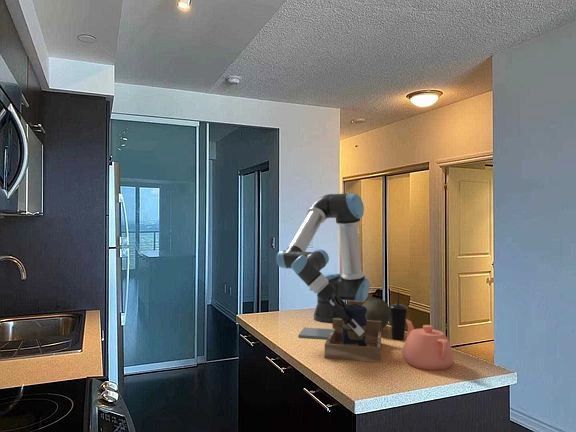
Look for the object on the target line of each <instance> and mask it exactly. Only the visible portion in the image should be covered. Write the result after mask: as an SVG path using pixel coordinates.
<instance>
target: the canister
mask: <svg viewBox="0 0 576 432" xmlns="http://www.w3.org/2000/svg"><path fill="white" fill-rule="evenodd" d="M343 308H344V309H345V311H346V312H347V313H348V315H349V316H350V317H351V318H353V319H354V320H355V322H356V323H357V324H358V325H359V326H360V327H361V328H362V329H363V330H364V331H365V332H364V333H363V334H362V335H361V336H358V334H357V333H356V332H355V331H354V330H353V329H352V328H351V327H350V326H349V325H348V324H346V325H345V324H344V321H343V341H342V345H354V346H368V343H367V308H366V307H364V306H362V305H361V304H359V303H352V304H347V305H346V306H344V307H343Z"/></svg>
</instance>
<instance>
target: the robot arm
mask: <svg viewBox="0 0 576 432" xmlns="http://www.w3.org/2000/svg"><path fill="white" fill-rule="evenodd" d="M364 211H365V207H364V203H363V199H362V197H360V195H359V194H356V193H329V194H325V195H323V196H321V197H319V198H318V199H316V200H315V201H314V202H313V203H312V204H311V205H310V207H309V208H308V210H307V213H306V215H307V216H306V217H305V218H304V221H303V222H302V223H301V225H300V228H299V229H298V230H297V232H296V234H295V235H294V237H293V239H292V240H291V242H290V244H289V245H288V246H287V248H286V250H280V251H278V252H277V254H276V259H275V260H276V264H277V265H278V267H279V268H283V269H292V270H293V272H294V274H295V275H297V276H298V278H300V279H301V280H302V281H303V282H304V283H305V285H306V286H307V287H308V288H309V291H310V292H311V291H312V292H313V294H316V299H317V303H316V306H315V309H314V313H313V320H314V321H317V322H323V323H333V318H335V319H342V320H343V321H344V324H345V325H346V324H348V325H349V326H350V327H351V328H352V329H353V330H354V331H355V332H356V333H357V334H358V336H361V335H362V334H363V333H364V332H365V331H364V330H363V329H362V328H361V327H360V326H359V325H358V324H357V323H356V322H355V320H354V319H353V318H351V317H350V316H349V315H348V313H347V312H346V311H345V309H344V308H343V307H344V306H346V305H348V304H347V302H346V301H348V302H353V303H354V302H355V303H364V302H365V301H367V300H366V299H367V298H368V296H369V292H370V289H371V288H370V286H371V284H370V279H368V278H367V277H365V273H364V272H363V271H362V265H361V253H360V241H359V229H358V224H359V223H360V222H361V218H363V216H364V213H365V212H364ZM330 218H331V219H335V223H336V224H337V225H338V226H339V231H340V232H339V235H340V236H339V237H340V244H341V245H340V247H341V255H342V256H341V257H342V267H343V272H342V273H336V272H335V273H324V274H323V273H322V272H321V270H322V269H323V268H325V267H326V265H327V264H328V263H329V262H330V261H329V259H330V256H329V254H328V253H327V251H326V250H324V249H316V250H314V251H307V249H308V248H309V246H310V243H311V242H312V240H313V239H314V236H315V235H316V233H317V231H318V230H319V228H320V226H321V224H323V223H325V221H326V220H327V219H330Z"/></svg>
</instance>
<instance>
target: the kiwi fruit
mask: <svg viewBox="0 0 576 432" xmlns="http://www.w3.org/2000/svg"><path fill="white" fill-rule="evenodd" d="M361 306H364V307H366V308H367V320H369V321H381V330H383V329H384V328H386V326H388V324H389V323H390V321H391V315H390V308H389V306H390V305H389V304H388V302H386V301H385V300H384V299H381V298H376V297H373V298H368V299H367V300H365V301H363V304H362V305H361Z"/></svg>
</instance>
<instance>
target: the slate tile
mask: <svg viewBox="0 0 576 432" xmlns="http://www.w3.org/2000/svg"><path fill="white" fill-rule="evenodd" d="M332 329H333V328H318V327H303V328H302V330H301V331H300V332H299V333H298V336H297V337H298V338H301V339H303V338H304V339H305V338H306V339H320V340H321V339H322V340H327V339H328V337H329V335H330V333H331V331H332Z"/></svg>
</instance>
